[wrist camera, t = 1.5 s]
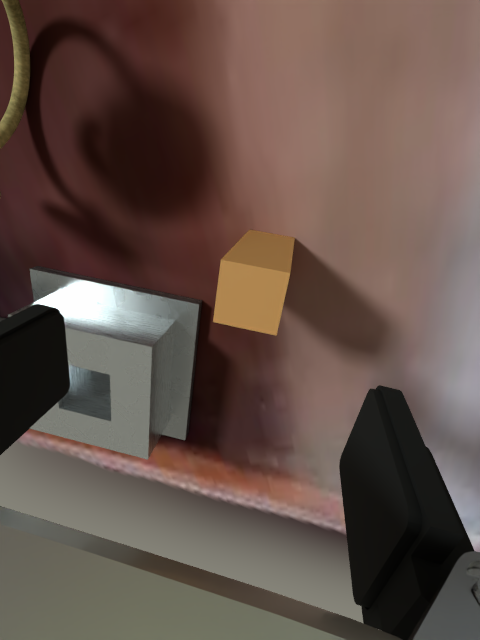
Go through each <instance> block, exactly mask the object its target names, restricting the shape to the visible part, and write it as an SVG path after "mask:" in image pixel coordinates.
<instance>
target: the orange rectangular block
mask: <svg viewBox="0 0 480 640" xmlns="http://www.w3.org/2000/svg"><path fill="white" fill-rule="evenodd" d="M294 240H295V238H293V237H288V236H282V235H277V234H271V233H266V232H260V231H255V230H249V231H248V232H247V233H246V234H245V235H244V236H243V237H242V238H241V239H240V240H239V241H238V242H237V243H236V244H235V245H234V247H233V248H232V249H231V250H230V251H229V252H228V253H227V254H226V255H225V256H224V257H223V258H222V259H221V263H220V271H219V279H218V287H217V295H216V303H215V311H214V319H213V322H215V323H220V324H225V325H229V326H234V327H239V328H243V329H248V330H253V331H257V332H262V333H267V334H271V335H277V331H278V326H279V322H280V317H281V313H282V308H283V304H284V299H285V295H286V290H287V286H288V282H289V277H290V272H291V264H292V256H293V248H294Z"/></svg>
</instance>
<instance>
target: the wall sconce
mask: <svg viewBox="0 0 480 640" xmlns="http://www.w3.org/2000/svg"><path fill="white" fill-rule="evenodd" d="M2 2H3V4H4V7H5V9H6V13H7V16H8V19H9V23H10V28H11V32H12V39H13V46H14V83H13V90H12V95H11V99H10V102H9V105H8V108H7V110H6V112H5V114H4V116H3V118H2V120H1V122H0V148H2V147H3V146H4V145H5V143H6V142H7V141H8V140H9V139H10V137H11V136H12V134H13V133H14V131H15V130H16V128H17V126H18V124H19V122H20V120H21V118H22V115H23V112H24V110H25V106H26V102H27V97H28V91H29V82H30V50H29V40H28V34H27V28H26V24H25V20H24V16H23V12H22V9H21V6H20V3H19V0H2ZM0 195H1V193H0Z"/></svg>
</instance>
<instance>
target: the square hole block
mask: <svg viewBox="0 0 480 640" xmlns="http://www.w3.org/2000/svg"><path fill="white" fill-rule="evenodd" d="M30 275H31V282H32V289H33V297H34V303H32V304H29V305H27V306H25V307H23V308H21V309H19V310H17V311H15V312H13V313H11V314H8V316H9V317H10V316H12V315H14V314H17V313H19V312H21V311H23V310H25V309H27V308H29V307H31V306H33V305H36V304H42V305H46V306H50V307H54V308H57V309H58V310H59V311H60V313H61V314H62V315H63V316H64V320H65V332H66V343H67V354H68V366H69V377H70V388H69V390H68V392H67V394H66V395H65V396H64V397H63V398H62V399H61V400H60V401H59V402H58V403H56V404H55V405H54V406H53V407H52V408H51V409H50V410H49V411H48V412H47V413H46V414H45V415H43V416H42V417H41V418H40V419H39V420H38V421H37V422H36V423H35V424H34V425H33V426H31V427H30V429H34V430H38V431H41V432H45V433H49V434H53V435H57V436H60V437H64V438H68V439H72V440H76V441H80V442H83V443H87V444H91V445H95V446H99V447H102V448H106V449H110V450H114V451H118V452H121V453H125V454H129V455H133V456H137V457H141V458H144V459H149V457H150V455H151V453H152V451H153V449H154V448H155V446H156V444H157V442H158V440H159V438H160V437H161V435H166V436H170V437H174V438H178V439H182V440H186V438H187V435H188V431H189V422H190V412H191V403H192V393H193V384H194V374H195V365H196V355H197V346H198V336H199V327H200V317H201V308H202V300H198V299H193V298H188V297H183V296H179V295H174V294H169V293H164V292H159V291H155V290H150V289H145V288H140V287H135V286H131V285H126V284H121V283H116V282H112V281H107V280H102V279H97V278H92V277H88V276H83V275H78V274H73V273H68V272H64V271H59V270H54V269H49V268H44V267H40V266H37V267H34V268H31V269H30Z"/></svg>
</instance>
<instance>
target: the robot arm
mask: <svg viewBox="0 0 480 640" xmlns="http://www.w3.org/2000/svg"><path fill="white" fill-rule="evenodd" d="M69 388H70V377H69V366H68V354H67V343H66V332H65V320H64V316H63V315H62V314H61V313H60V311H59V310H58V309H57V308H54V307H50V306H46V305H42V304H36V305H33V306H31V307H29V308H27V309H25V310H23V311H21V312H19V313H17V314H14V315H12V316H10V317H8V318H6V319H4V320H2V321H0V455H1V454H2V453H3V452H4V451H5V450H6V449H8V448H9V446H11V445H12V444H13V443H14V442H15V441H16V440H17V439H18V438H20V437H21V436H22V435H23V434H24V433H25V432H26V431H27V430H28V429H29V428H30V427H31V426H33V425H34V424H35V423H36V422H37V421H38V420H39V419H40V418H41V417H42V416H43V415H45V414H46V413H47V412H48V411H49V410H50V409H51V408H52V407H53V406H54V405H55V404H56V403H58V402H59V401H60V400H61V399H62V398H63V397H64V396H65V395H66V394H67V392H68V390H69ZM340 478H341V487H342V496H343V506H344V515H345V524H346V533H347V542H348V551H349V561H350V569H351V579H352V589H353V596H354V601H355V603H356V604H357V605H360V606H362V614H363V622H364V624H363V623H361V622H358V621H356V620H353V619H350V618H347V617H344V616H341V615H338V614H336V613H333V612H330V611H326V610H324V609H321V608H318V607H315V606H312V605H309V604H306V603H303V602H300V601H297V600H294V599H291V598H288V597H285V596H283V595H279V594H277V593H273V592H271V591H268V590H265V589H262V588H258V587H255V586H252V585H249V584H246V583H243V582H240V581H237V580H234V579H230V578H227V577H224V576H221V575H218V574H215V573H211V572H208V571H205V570H202V569H199V568H196V567H193V566H189V565H187V564H183V563H180V562H177V561H174V560H171V559H168V558H164V557H161V556H158V555H155V554H152V553H149V552H146V551H142V550H139V549H136V548H133V547H130V546H127V545H124V544H120V543H117V542H114V541H111V540H107V539H104V538H101V537H98V536H95V535H92V534H88V533H85V532H82V531H79V530H76V529H72V528H69V527H66V526H63V525H60V524H57V523H53V522H50V521H47V520H44V519H40V518H37V517H34V516H31V515H28V514H24V513H21V512H18V511H15V510H12V509H8V508H5V507H2V506H0V640H480V552H476V551H474V549H473V546H472V544H471V542H470V540H469V537H468V535H467V533H466V531H465V528H464V526H463V524H462V521H461V519H460V517H459V515H458V512H457V510H456V508H455V506H454V503H453V501H452V499H451V497H450V494H449V492H448V490H447V487H446V485H445V483H444V481H443V478H442V476H441V474H440V472H439V469H438V467H437V465H436V463H435V460H434V458H433V456H432V454H431V452H430V450H429V449H428V448H427V447H426V446H425V444H424V442H423V439H422V437H421V435H420V432H419V430H418V428H417V425H416V423H415V421H414V418H413V416H412V414H411V411H410V409H409V407H408V405H407V402H406V400H405V398H404V395H403V393H402V392H401V391H400V390H397V389H392V388H388V387H384V386H378V387H377V388H376V389H370V390H369V391H368V393H367V395H366V398H365V400H364V403H363V405H362V407H361V410H360V412H359V415H358V417H357V419H356V422H355V424H354V427H353V429H352V431H351V434H350V436H349V438H348V441H347V443H346V446H345V448H344V450H343V453H342V455H341V459H340ZM378 629H379V630H378ZM381 630H382V631H381Z"/></svg>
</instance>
